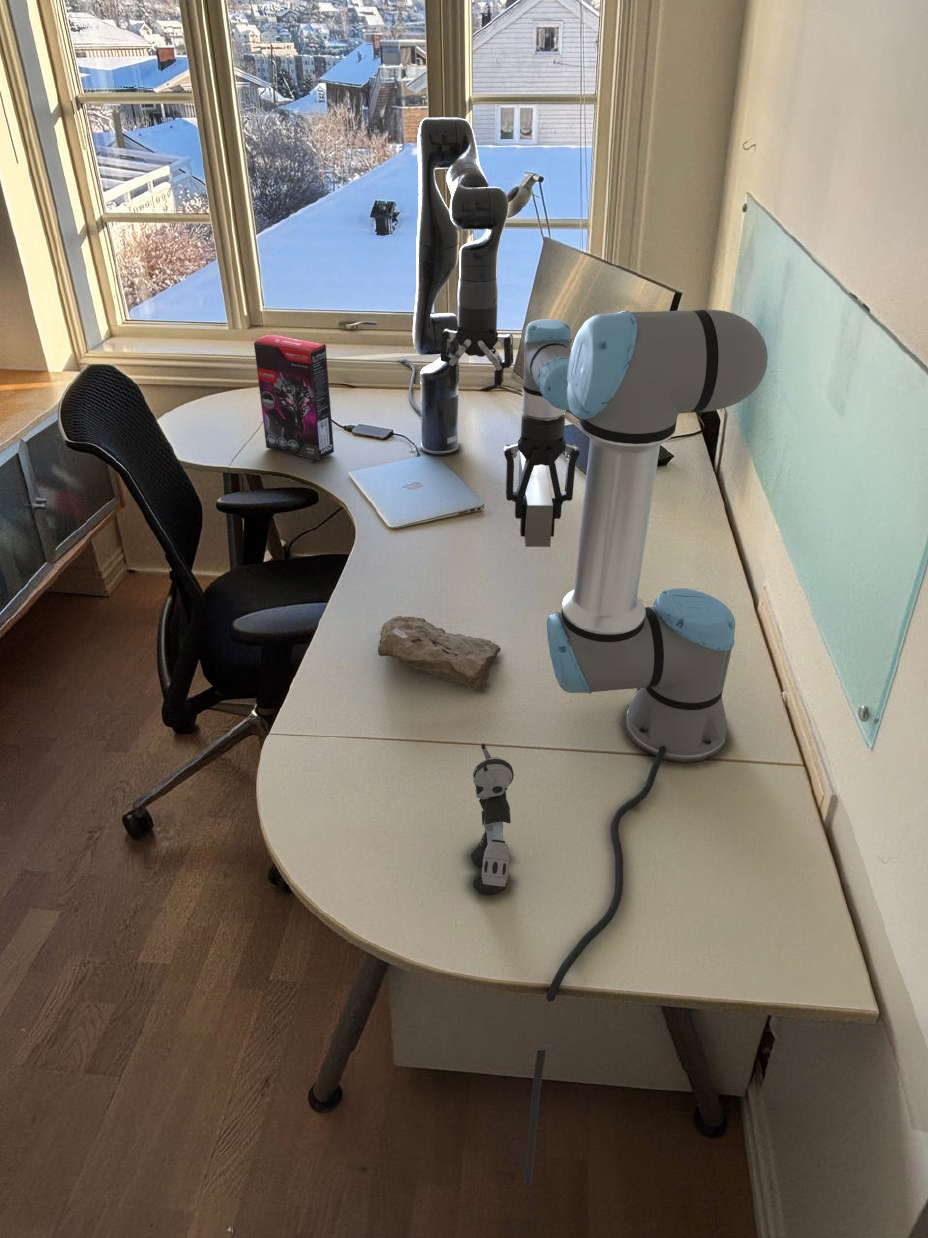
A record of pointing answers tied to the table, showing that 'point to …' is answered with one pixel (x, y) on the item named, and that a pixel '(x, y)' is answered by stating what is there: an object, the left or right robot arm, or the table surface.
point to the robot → (492, 823)
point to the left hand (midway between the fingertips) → (476, 384)
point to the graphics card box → (294, 396)
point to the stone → (438, 651)
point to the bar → (537, 507)
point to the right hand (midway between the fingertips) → (536, 532)
